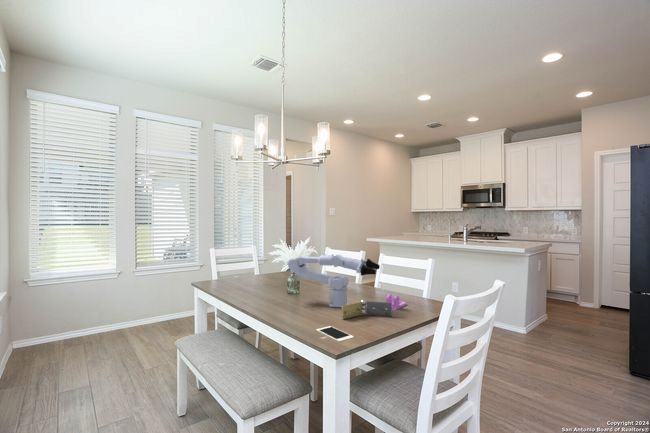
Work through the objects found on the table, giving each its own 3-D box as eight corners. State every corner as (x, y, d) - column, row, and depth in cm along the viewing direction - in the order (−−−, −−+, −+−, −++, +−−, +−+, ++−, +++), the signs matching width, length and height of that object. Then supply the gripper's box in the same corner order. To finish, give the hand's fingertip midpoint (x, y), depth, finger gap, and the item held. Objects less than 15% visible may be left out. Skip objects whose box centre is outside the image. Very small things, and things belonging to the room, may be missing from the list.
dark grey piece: (360, 314, 158) (360, 300, 158) (361, 313, 160) (361, 299, 160) (391, 316, 155) (391, 302, 155) (391, 315, 157) (391, 301, 157)
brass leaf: (363, 312, 161) (363, 300, 161) (367, 313, 159) (366, 301, 159) (340, 318, 152) (340, 305, 152) (344, 319, 150) (344, 306, 150)
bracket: (395, 310, 167) (395, 296, 167) (386, 308, 171) (386, 294, 171) (407, 304, 177) (407, 292, 177) (398, 303, 180) (398, 290, 180)
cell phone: (339, 342, 124) (339, 341, 124) (315, 330, 137) (315, 329, 137) (354, 338, 128) (354, 336, 128) (330, 327, 141) (330, 325, 141)
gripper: (348, 261, 165) (374, 267, 160) (357, 253, 178) (381, 258, 173) (347, 274, 166) (373, 280, 161) (356, 264, 179) (380, 270, 174)
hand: (377, 269), depth 167 cm, fingers open, 7 cm apart
